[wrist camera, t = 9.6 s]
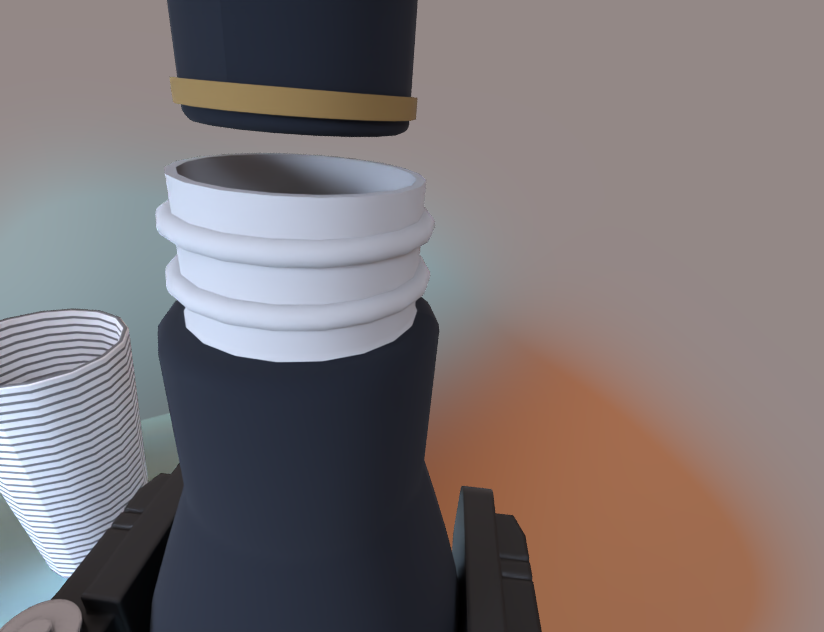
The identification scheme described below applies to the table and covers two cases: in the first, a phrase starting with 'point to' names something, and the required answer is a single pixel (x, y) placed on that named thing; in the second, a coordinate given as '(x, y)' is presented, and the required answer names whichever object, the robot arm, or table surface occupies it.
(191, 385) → the water bottle
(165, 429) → the table surface
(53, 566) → the cup
